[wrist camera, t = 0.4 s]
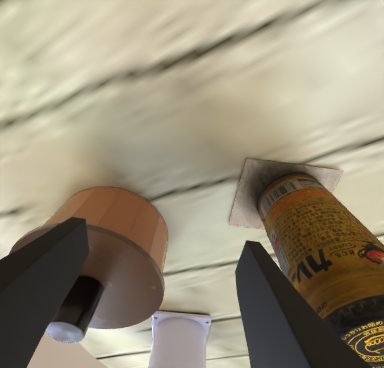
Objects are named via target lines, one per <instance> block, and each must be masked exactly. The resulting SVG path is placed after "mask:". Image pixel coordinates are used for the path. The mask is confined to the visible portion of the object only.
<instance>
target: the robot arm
mask: <svg viewBox="0 0 384 368" xmlns="http://www.w3.org/2000/svg"><path fill="white" fill-rule="evenodd" d="M88 255H89V244H88V235H87V226H86V219H84V218H77V217H71V218H69V219H67V220H65V221H64V222H62V223H61V224H59V225H57V226H56V227H54V228H53V229H51V230H49V231H48V232H46V233H45V234H43V235H41V236H40V237H38V238H36V239H35V240H33V241H32V242H30V243H28V244H27V245H25V246H23V247H22V248H20V249H18V250H17V251H15V252H13V253H11V254H9V255H8V256H6V257H4V258H2V259H1V260H0V368H27V366H28V364H29V362H30V360H31V358H32V356H33V354H34V352H35V349H36V348H37V346H38V344H39V342H40V340H41V338H42V336H43V334H44V333H45V331H46V329H47V327H48V326H49V324H50V322H51V321H52V319H53V318H54V316H55V314H56V313H57V311H58V309H59V308H60V306H61V304H62V303H63V301H64V299H65V298H66V296H67V295H68V293H69V291H70V290H71V288H72V286H73V285H74V283H75V281H76V280H77V278H78V276H79V274H80V272H81V270H82V268H83V266H84V264H85V262H86V259H87V257H88ZM235 273H236V287H237V296H238V301H239V306H240V311H241V316H242V321H243V326H244V331H245V336H246V341H247V346H248V352H249V358H250V364H251V368H372V367H371V366H370V365H369V364H368V363H367V362H366V361H365V360H364V359H363V358H362V357H361V356H359V355H358V354H357V353H356V352H355V351H354V350H353V349H352V348H351V347H350V346H349V345H348V344H347V343H346V342H345V341H344V340H343V339H342V338H341V337H340V336H339V335H338V334H337V333H336V332H335V331H334V330H333V329H332V328H331V327H330V326H329V325H328V324H327V323H326V322H325V321H324V320H323V319H322V318H321V317H320V316H319V315H318V314H317V313H316V311H315V310H314V309H313V308H312V307H311V306H310V305H309V304H308V302H307V301H306V300H305V299H304V298H303V297H302V296H301V294H300V293H299V292H298V291H297V290H296V288H295V287H294V286H293V285H292V284H291V282H290V281H289V280H288V279H287V277H286V276H285V275H284V274H283V272H282V271H281V270H280V268H279V267H278V266H277V264H276V263H275V262H274V261H273V259H272V258H271V257H270V255H269V254H268V253H267V251H266V250H265V249H264V247H263V246H262V245H261V243H260V242H255V241H247V240H246V243H245V245H244V248H243V251H242V254H241V257H240V259H239V262H238V265H237V268H236V271H235ZM210 324H211V316H209V315H199V314H187V313H175V312H164V311H156V312H155V313H154V314H153V315H152V349H151V355H150V361H149V367H148V368H206V341H207V337H208V333H209V328H210Z"/></svg>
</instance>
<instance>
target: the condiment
mask: <svg viewBox="0 0 384 368" xmlns="http://www.w3.org/2000/svg"><path fill="white" fill-rule="evenodd" d="M342 174H343V170H335V169H328V168H321V167H314V166H304V165H296V164H286V163H280V162H273V161H263V160H254V159H246V162H245V166H244V169H243V172H242V176H241V180H240V183H239V187H238V190H237V194H236V198H235V202H234V206H233V210H232V213H231V217H230V221H229V225H233V226H242V227H247V228H257V229H265V230H266V232H267V236H268V238H269V240H270V242H271V245H272V247H273V249H274V252H275V254H276V257H277V259H278V262H279V265H280V268H281V270H282V272H283V274H284V275H285V276H286V277H287V279H288V280H289V281H290V282H291V284H292V285H293V286H294V287H295V288H296V290H297V291H298V292H299V293H300V294H301V296H302V297H303V298H304V299H305V300H306V301H307V302H308V304H309V305H310V306H311V307H312V308H313V309H314V310H315V311H316V313H317V314H318V315H319V316H320V317H321V318H322V319H323V320H324V321H325V322H326V323H327V324H328V325H329V326H330V327H331V328H332V329H333V330H334V331H335V332H336V333H337V334H338V335H339V336H340V337H341V338H342V339H343V340H344V341H345V342H346V343H347V344H348V345H349V346H350V347H351V348H352V349H353V350H354V351H355V352H356V353H357V354H358V355H359V356H361V357H362V358H363V359H364V360H365V361H366V362H367V363H368V364H369V365H370V366H371V367H372V368H384V245H383V244H382V243H381V242H380V241H379V240H378V239H377V238H376V237H375V236H374V235H373V234H372V233H371V232H370V231H369V230H368V229H367V228H366V227H365V226H364V225H363V224H362V223H361V222H360V221H359V220H358V219H357V218H356V217H355V216H354V215H353V214H352V213H351V212H350V211H349V210H348V209H347V208H346V207H345V206H344V205H342V204H341V202H339V201H338V200H337V199H336V198H335V197H334V196H333V195H332V194H331V193H332V192H333V190H334V188H335V187H336V185H337V183H338V181H339V179H340V178H341V176H342Z"/></svg>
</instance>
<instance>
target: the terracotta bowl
mask: <svg viewBox="0 0 384 368" xmlns="http://www.w3.org/2000/svg"><path fill="white" fill-rule="evenodd" d="M71 217H77V218H84V219H86V224H90V225H94V226H98V227H102V228H105V229H108V230H111V231H114V232H116V233H118V234H120V235H123V236H125V237H126V238H128V239H130V240H132V241H133V242H135V243H136V244H137V245H139V246H140V247H142V248H143V249H144V250H145V251H146V252H147V253H148V254H149V255H150V256H151V257H152V258H153V259H154V260H155V262H156V263H157V265H158V266H159V268H160V270H161V273H163V267H164V262H165V256H166V251H167V241H168V231H167V227H166V224H165V221H164V220H163V218H162V216H161V215H160V213H159V212H158V211H157V209H156V208H155V207H154V206H153V205H152V204H150V203H149V202H148V201H147V200H145V199H144V198H142V197H140V196H138V195H136V194H134V193H132V192H130V191H127V190H123V189H120V188H114V187H94V188H89V189H86V190H83V191H81V192H79V193H77V194H75V195H74V196H73V197H71V198H70V199H69V200H68V201H67V202H66V203H65V204H64V205H63V206H62V207H61V208H60V209H59V210H58V211H57V212H56V213H55V214H54V215H53V216H52V217H51V218H50V219H49V220H48V221H47V222H46V223H45V224H44V225H49V224H54V223H62V222H64V221H65V220H67V219H69V218H71ZM44 225H43V226H44Z"/></svg>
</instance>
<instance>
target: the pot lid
mask: <svg viewBox="0 0 384 368" xmlns="http://www.w3.org/2000/svg"><path fill="white" fill-rule="evenodd" d="M59 224H61V223H54V224H49V225H44V226H41V227H38V228H36V229H34V230H32V231H30V232H28V233H27V234H25V235H24V236H23V237H21V238H20V239H19V240H18V241H17V242H16V244H15V245H14V246H13V247H12V249H11V251H10V253H9V254H11V253H13V252H15V251H17V250H18V249H20V248H22V247H23V246H25V245H27V244H28V243H30V242H32V241H33V240H35V239H36V238H38V237H40V236H41V235H43V234H45V233H46V232H48V231H49V230H51V229H53V228H54V227H56V226H57V225H59ZM86 226H87V235H88V244H89V255H88V257H87V259H86V262H85V264H84V266H83V268H82V270H81V272H80V274H79V276H78V278H77V280H76V281H75V283H74V285H73V286H72V288H71V290H70V291H69V293H68V295H67V296H66V298H65V299H64V301H63V303H62V304H61V306H60V308H59V309H58V311H57V313H56V314H55V316H54V318H53V319H52V321H51V322H50V324H49V326H48V327H47V329H46V331H45V332H46V334H47V335H49V336H50V337H51V338H53V339H55V340H58V341H61V342H67V343H75V342H79V341H81V340H82V339H83V338H84V336H85V334H86V331H87V329H88V328H97V329H116V328H124V327H129V326H132V325H136V324H138V323H140V322H143V321H144V320H146V319H148V318H149V317H151V316H152V315H153V314H154V313H155V312H156V311H157V310H158V308H159V307H160V305H161V303H162V300H163V296H164V289H165V286H164V279H163V275H162V273H161V270H160V268H159V266H158V265H157V263H156V262H155V260H154V259H153V258H152V257H151V256H150V255H149V254H148V253H147V252H146V251H145V250H144V249H143V248H142V247H140V246H139V245H137V244H136V243H135V242H133V241H132V240H130V239H128V238H126V237H125V236H123V235H120V234H118V233H116V232H114V231H111V230H108V229H105V228H102V227H98V226H94V225H90V224H86Z"/></svg>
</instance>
